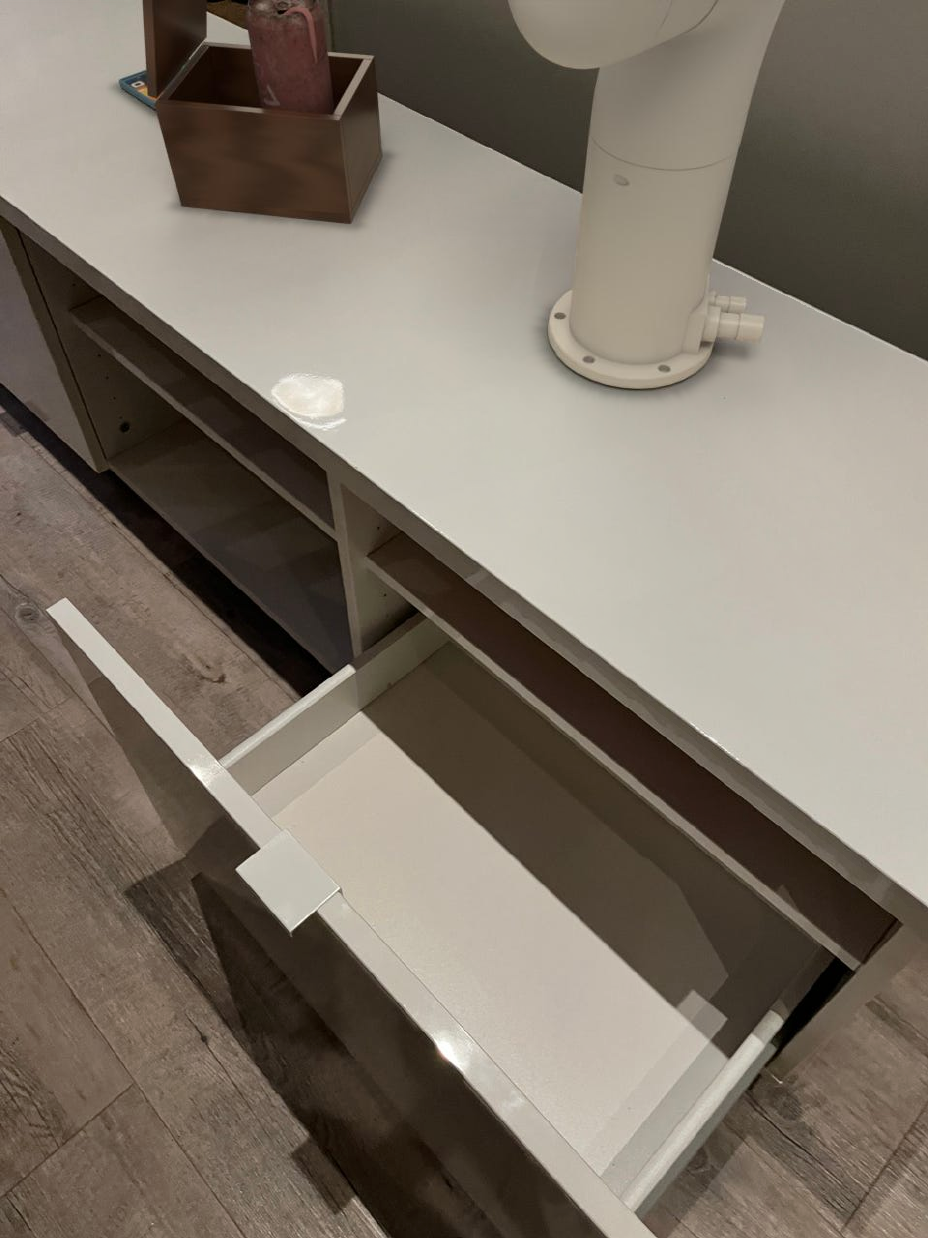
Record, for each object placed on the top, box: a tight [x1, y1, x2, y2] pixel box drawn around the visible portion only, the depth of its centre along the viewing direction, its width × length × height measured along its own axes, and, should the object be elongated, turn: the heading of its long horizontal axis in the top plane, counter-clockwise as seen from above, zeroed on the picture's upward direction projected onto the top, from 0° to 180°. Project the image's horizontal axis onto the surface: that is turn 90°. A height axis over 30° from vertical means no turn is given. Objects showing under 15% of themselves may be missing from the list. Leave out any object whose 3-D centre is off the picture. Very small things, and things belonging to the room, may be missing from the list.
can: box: [245, 0, 334, 115], centre depth 78 cm, size 6×6×14 cm
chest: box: [154, 41, 383, 224], centre depth 81 cm, size 16×12×9 cm
